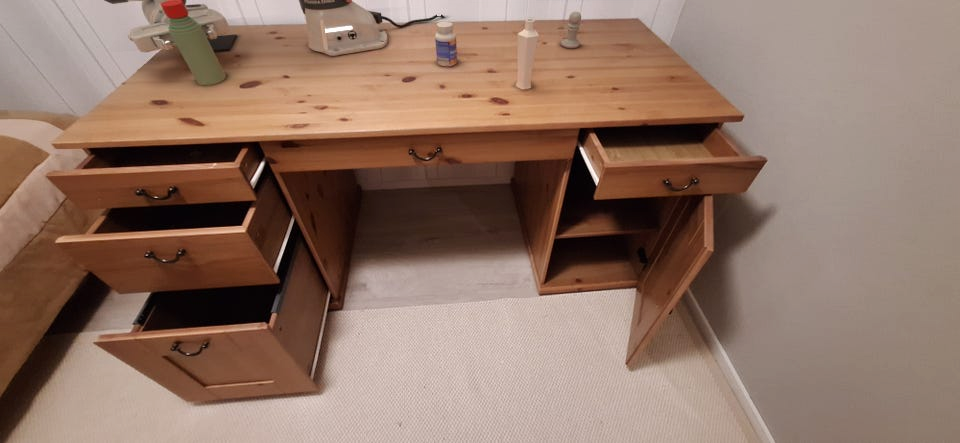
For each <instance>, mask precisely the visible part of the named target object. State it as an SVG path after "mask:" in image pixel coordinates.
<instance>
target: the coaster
mask: <svg viewBox="0 0 960 443" xmlns="http://www.w3.org/2000/svg"><path fill="white" fill-rule="evenodd" d="M216 36H217V38H215V39H210V38H209V37H208V38H207V39H208V41H209V43H210V45H211V47H212V49H213V51H214V53H223V52H230V51H231V49H232V48H233V46H234V44H235V42H236V40H237V39H238V34H237V33H236V34H226V35H225V34H221V35H216Z"/></svg>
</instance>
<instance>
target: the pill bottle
mask: <svg viewBox="0 0 960 443" xmlns="http://www.w3.org/2000/svg"><path fill="white" fill-rule="evenodd" d="M436 30H437V32H436V33H435V35H434V42H435V52H436V53H435V54H436V63H437V64H438V65H439V66H441V67H453V66H455V65H457V63H458V49H457V34H456V33H455V32H454V25H453V23H452V22H451V21H440V22H437V24H436Z"/></svg>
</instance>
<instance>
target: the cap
mask: <svg viewBox="0 0 960 443" xmlns="http://www.w3.org/2000/svg"><path fill="white" fill-rule="evenodd" d="M185 5H186V4H185ZM185 5H184V3H183V2H182V1H181V0H170V1H166V2H163V3H161V6H162V8H163V10H164V12H165V14H166V16H167V17H168V18H181V17H184V16H187V15H188V11H187V9H186V7H185Z"/></svg>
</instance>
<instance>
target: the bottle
mask: <svg viewBox="0 0 960 443" xmlns="http://www.w3.org/2000/svg"><path fill="white" fill-rule="evenodd" d="M169 22H170V23H169V27H168V29H169V33H170V34H171V36H172V38H173V40H174V41H175V43H176V45H175V46H176V47H177V49H178V50H179V53H180V54H181V56H182V58H183V59H184V61H185V62H186V65H187V67H188V68H189V70H190V72H191V73H192V75H193V77H194V79H195V81H196V83H197V84H198V85H200V86H213V85H216V84H219V83H222V82H223V81H225V79H227V76H226V74H225V72H224V69H223V67H222V65H221V64H220V62H219V59H218V57H217V55H216V52H214V51H213V49H212V47H211V45H210V43H209V41H208V39H207V37H206V35H205V33H204V31H203V29H202V27H201V25H199V23H198V22H196V21H195V20H194V19H192V18H191V17H189V16H188V15H187V16H184V17H181V18H170V21H169Z"/></svg>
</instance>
